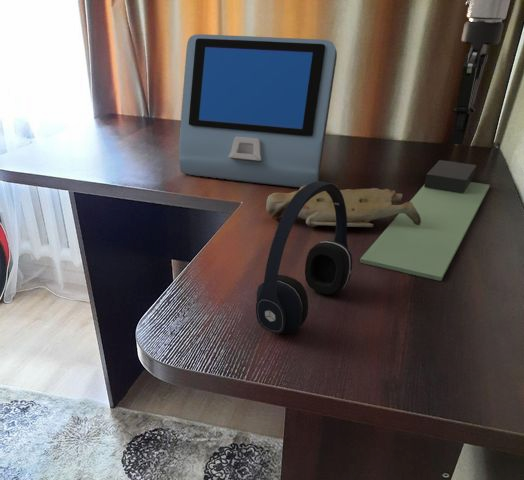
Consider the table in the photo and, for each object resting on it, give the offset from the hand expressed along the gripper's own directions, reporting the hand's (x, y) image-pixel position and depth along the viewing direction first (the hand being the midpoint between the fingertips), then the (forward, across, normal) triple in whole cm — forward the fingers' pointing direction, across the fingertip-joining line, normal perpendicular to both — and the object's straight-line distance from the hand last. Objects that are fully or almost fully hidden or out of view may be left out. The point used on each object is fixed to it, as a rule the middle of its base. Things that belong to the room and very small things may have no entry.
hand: (456, 143), depth 116 cm
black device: (+8, -10, 0) cm, 12 cm away
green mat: (+10, +22, +2) cm, 24 cm away
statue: (+10, +34, -14) cm, 38 cm away
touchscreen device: (+11, +13, -45) cm, 48 cm away
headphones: (+11, +68, -7) cm, 69 cm away
